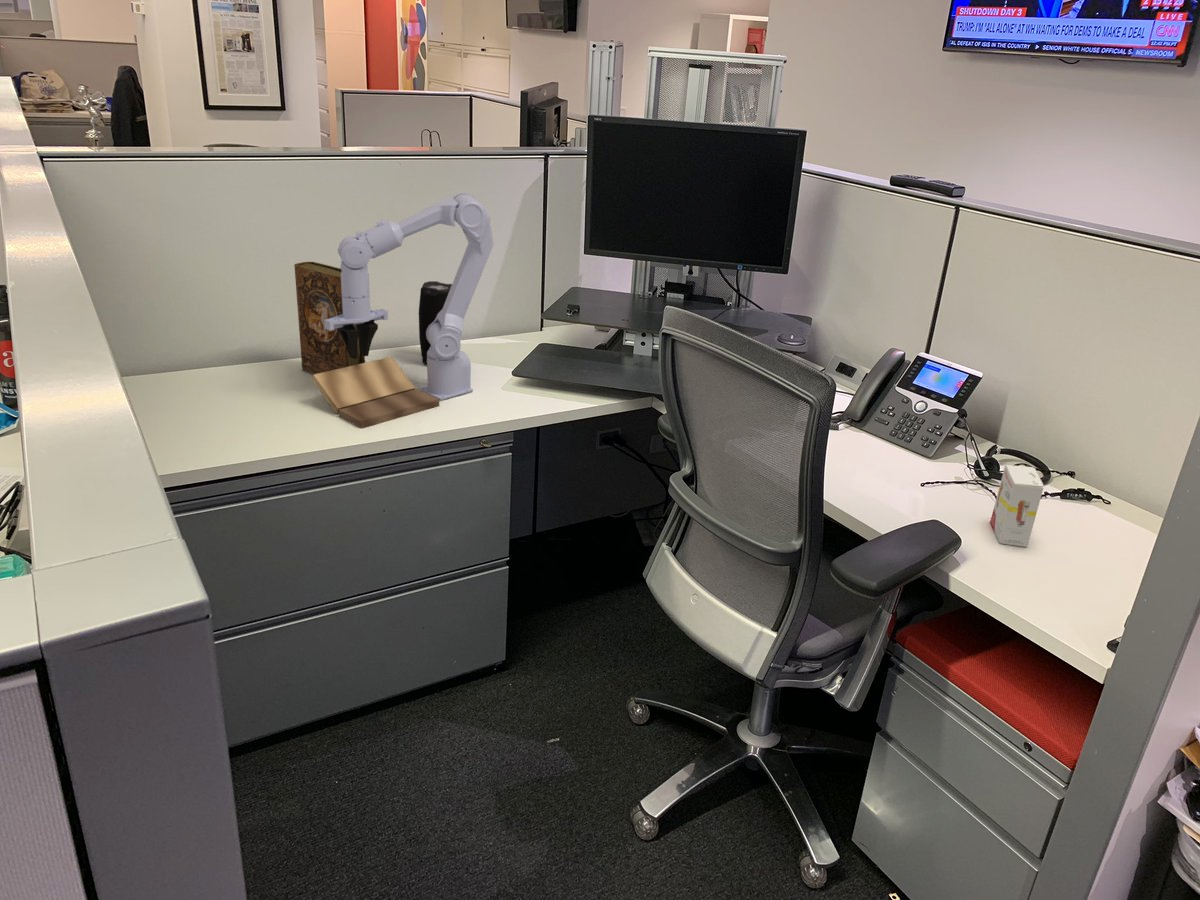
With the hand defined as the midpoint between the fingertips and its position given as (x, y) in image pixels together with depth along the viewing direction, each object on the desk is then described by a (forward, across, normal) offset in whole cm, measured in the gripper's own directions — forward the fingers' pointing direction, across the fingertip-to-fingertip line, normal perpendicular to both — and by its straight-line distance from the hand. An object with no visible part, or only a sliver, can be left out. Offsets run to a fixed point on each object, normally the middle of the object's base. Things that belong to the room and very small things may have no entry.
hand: (358, 356), depth 197 cm
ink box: (+10, -49, +125) cm, 135 cm away
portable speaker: (+10, -28, -8) cm, 31 cm away
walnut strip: (+9, 0, +11) cm, 14 cm away
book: (+10, -3, -16) cm, 19 cm away
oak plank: (+6, 0, +2) cm, 7 cm away
